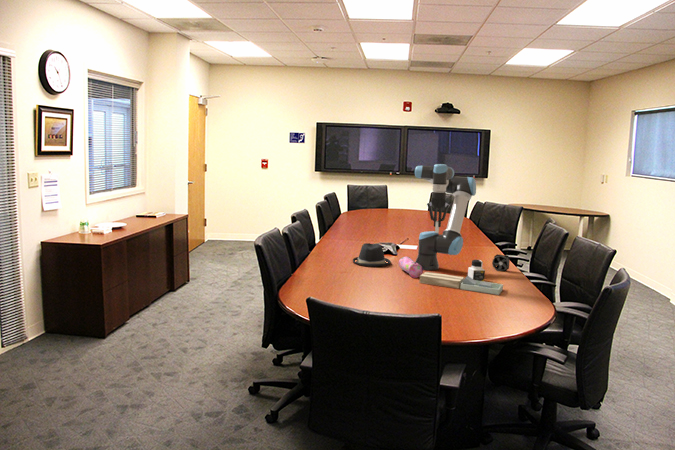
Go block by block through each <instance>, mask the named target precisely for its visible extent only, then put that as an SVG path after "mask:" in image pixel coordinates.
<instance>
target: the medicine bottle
mask: <svg viewBox="0 0 675 450" xmlns="http://www.w3.org/2000/svg"><path fill="white" fill-rule="evenodd" d="M483 264H484V263H483V261H482V260H481V259H472V260H471V266H468V269H467V276H469V277H471V278H472V279H473V280H477V281H483V282H485V277H486V270H485V269H484V268H483Z"/></svg>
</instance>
